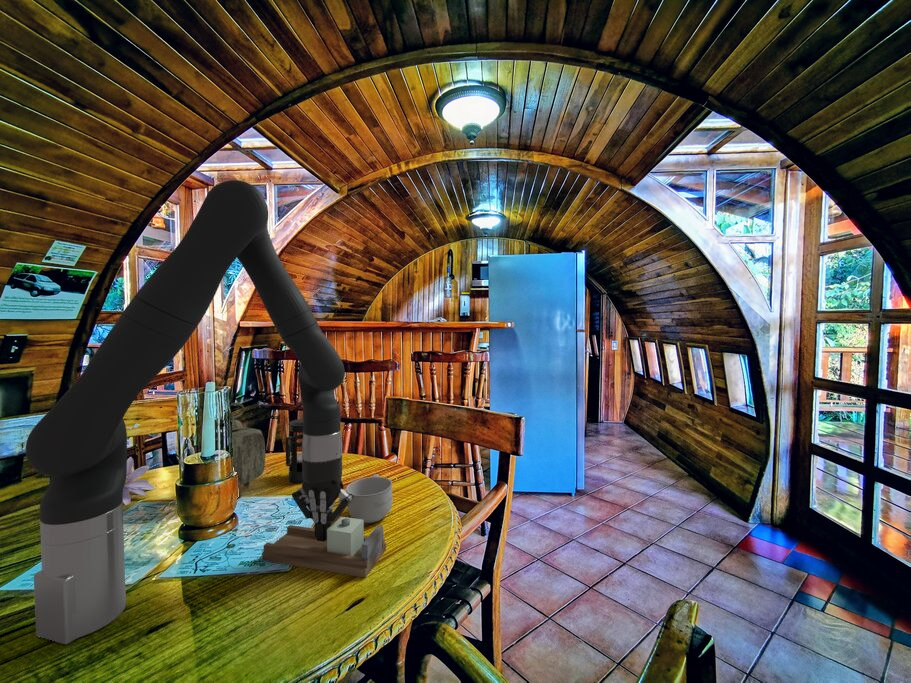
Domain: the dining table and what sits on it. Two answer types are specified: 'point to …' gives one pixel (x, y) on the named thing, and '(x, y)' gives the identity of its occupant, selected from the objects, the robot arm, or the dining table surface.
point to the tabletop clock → (247, 451)
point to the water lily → (135, 482)
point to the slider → (345, 536)
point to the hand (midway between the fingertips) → (323, 539)
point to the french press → (294, 452)
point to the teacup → (370, 498)
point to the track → (324, 552)
